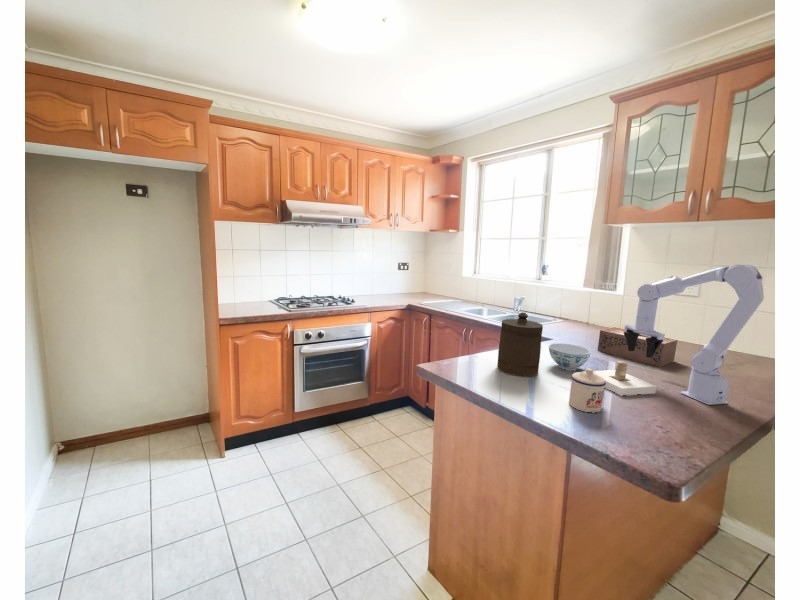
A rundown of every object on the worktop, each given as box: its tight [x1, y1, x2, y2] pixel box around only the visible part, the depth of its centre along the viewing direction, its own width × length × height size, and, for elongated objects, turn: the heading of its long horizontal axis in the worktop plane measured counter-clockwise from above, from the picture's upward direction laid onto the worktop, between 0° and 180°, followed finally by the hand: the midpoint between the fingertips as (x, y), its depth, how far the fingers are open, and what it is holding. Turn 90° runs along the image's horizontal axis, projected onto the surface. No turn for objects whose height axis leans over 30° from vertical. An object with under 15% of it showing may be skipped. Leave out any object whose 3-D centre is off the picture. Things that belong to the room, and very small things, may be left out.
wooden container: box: [497, 312, 544, 377], centre depth 139 cm, size 15×15×22 cm
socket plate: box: [593, 369, 657, 397], centre depth 129 cm, size 16×14×2 cm
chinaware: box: [548, 342, 592, 371], centre depth 146 cm, size 15×15×8 cm
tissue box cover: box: [597, 327, 678, 368], centre depth 167 cm, size 26×14×10 cm, turn 36°
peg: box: [614, 360, 628, 381], centre depth 129 cm, size 3×3×8 cm
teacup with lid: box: [568, 367, 606, 414], centre depth 110 cm, size 12×9×12 cm
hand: (640, 353), depth 136 cm, fingers open, 7 cm apart
